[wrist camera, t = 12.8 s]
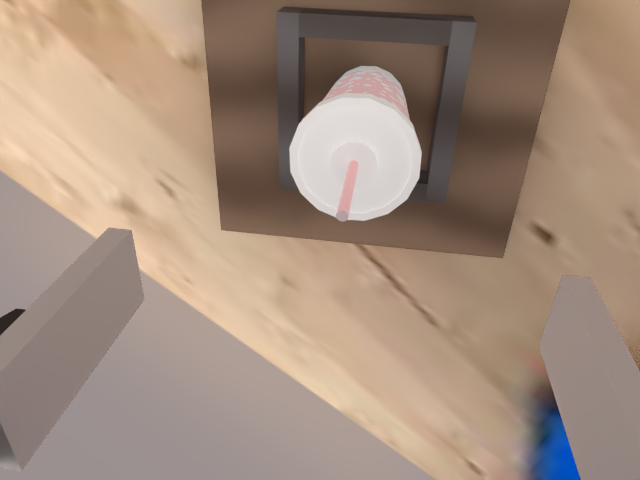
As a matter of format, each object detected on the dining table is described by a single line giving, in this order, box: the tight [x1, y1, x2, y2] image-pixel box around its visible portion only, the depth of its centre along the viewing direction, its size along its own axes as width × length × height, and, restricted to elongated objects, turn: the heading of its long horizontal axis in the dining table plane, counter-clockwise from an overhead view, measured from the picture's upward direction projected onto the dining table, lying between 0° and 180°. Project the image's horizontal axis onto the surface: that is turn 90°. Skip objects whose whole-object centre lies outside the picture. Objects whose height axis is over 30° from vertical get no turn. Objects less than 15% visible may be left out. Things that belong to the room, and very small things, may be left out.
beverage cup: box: [289, 66, 422, 222], centre depth 25 cm, size 6×6×14 cm
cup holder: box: [201, 0, 570, 258], centre depth 31 cm, size 20×20×3 cm
